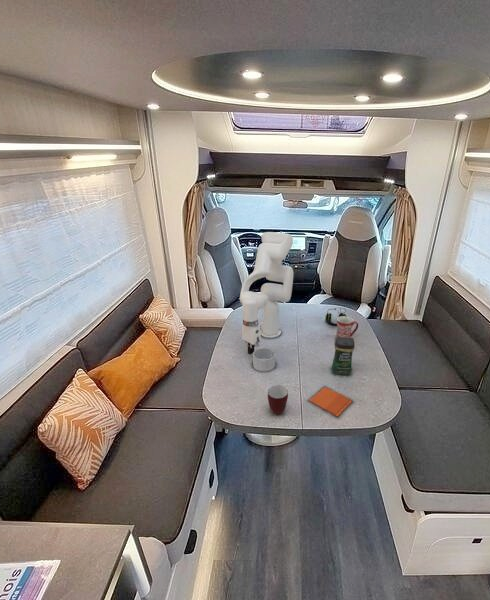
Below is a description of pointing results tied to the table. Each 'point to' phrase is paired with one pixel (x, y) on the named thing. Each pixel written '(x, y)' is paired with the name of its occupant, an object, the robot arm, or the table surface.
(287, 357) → the table surface
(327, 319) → the headphones
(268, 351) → the pot
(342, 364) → the coffee jar
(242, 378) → the table surface
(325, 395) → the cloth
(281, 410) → the mug
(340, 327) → the mug
